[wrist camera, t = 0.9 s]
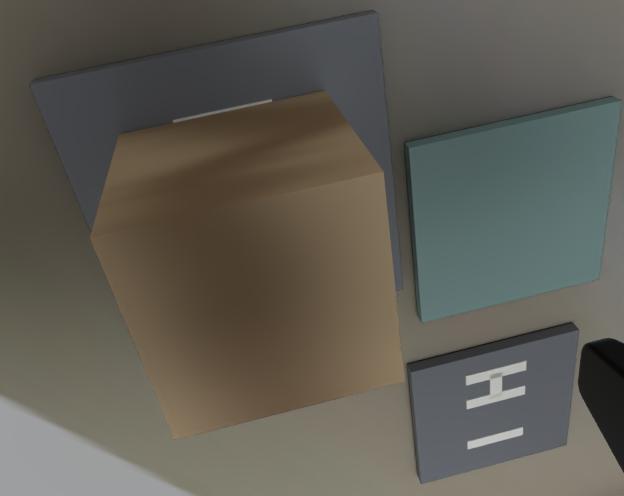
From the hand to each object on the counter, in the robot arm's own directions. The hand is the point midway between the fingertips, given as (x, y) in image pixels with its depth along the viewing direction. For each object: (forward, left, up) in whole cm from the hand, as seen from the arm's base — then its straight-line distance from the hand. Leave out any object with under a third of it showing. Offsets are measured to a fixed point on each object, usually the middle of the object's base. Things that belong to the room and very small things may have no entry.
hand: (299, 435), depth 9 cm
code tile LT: (0, 0, -8) cm, 8 cm away
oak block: (0, 0, -8) cm, 8 cm away
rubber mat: (-7, +2, -8) cm, 11 cm away
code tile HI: (-7, +10, -8) cm, 15 cm away
